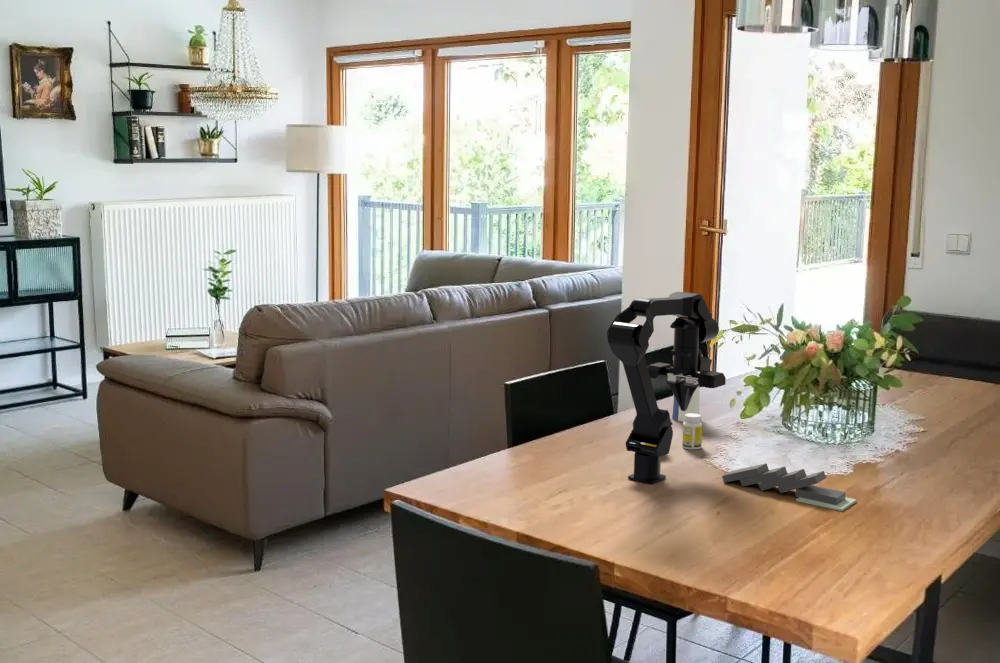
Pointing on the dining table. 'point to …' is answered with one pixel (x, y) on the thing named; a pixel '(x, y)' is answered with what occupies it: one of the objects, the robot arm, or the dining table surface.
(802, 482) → the domino
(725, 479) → the domino
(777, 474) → the domino
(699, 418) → the supplement bottle
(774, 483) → the domino
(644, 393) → the robot arm
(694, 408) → the water bottle
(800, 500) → the pad
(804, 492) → the domino
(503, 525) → the dining table surface
